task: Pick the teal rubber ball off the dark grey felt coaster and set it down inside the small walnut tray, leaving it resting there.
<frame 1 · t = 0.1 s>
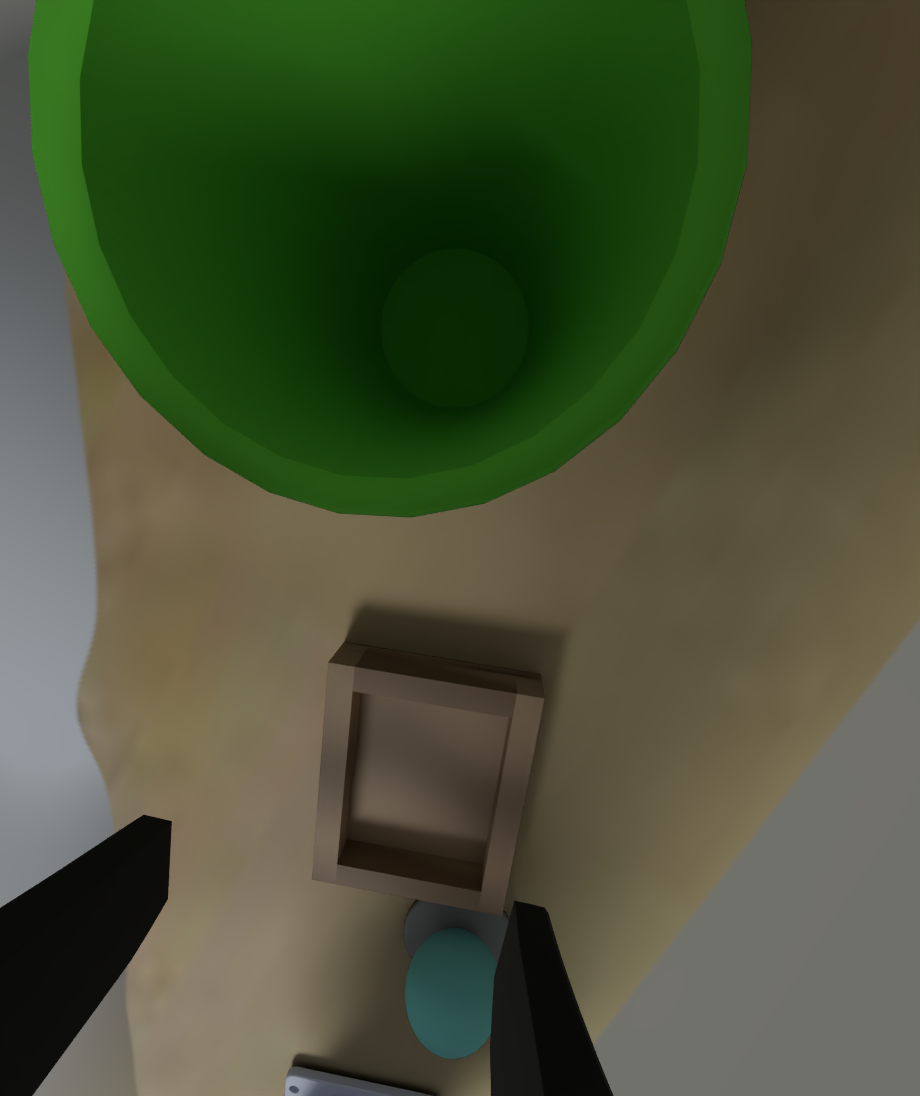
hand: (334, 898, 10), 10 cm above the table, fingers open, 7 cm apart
ball: (457, 940, 22), resting on coaster
tray: (426, 765, 20), on the table
cup: (456, 336, 17), on the table
coaster: (458, 931, 22), on the table
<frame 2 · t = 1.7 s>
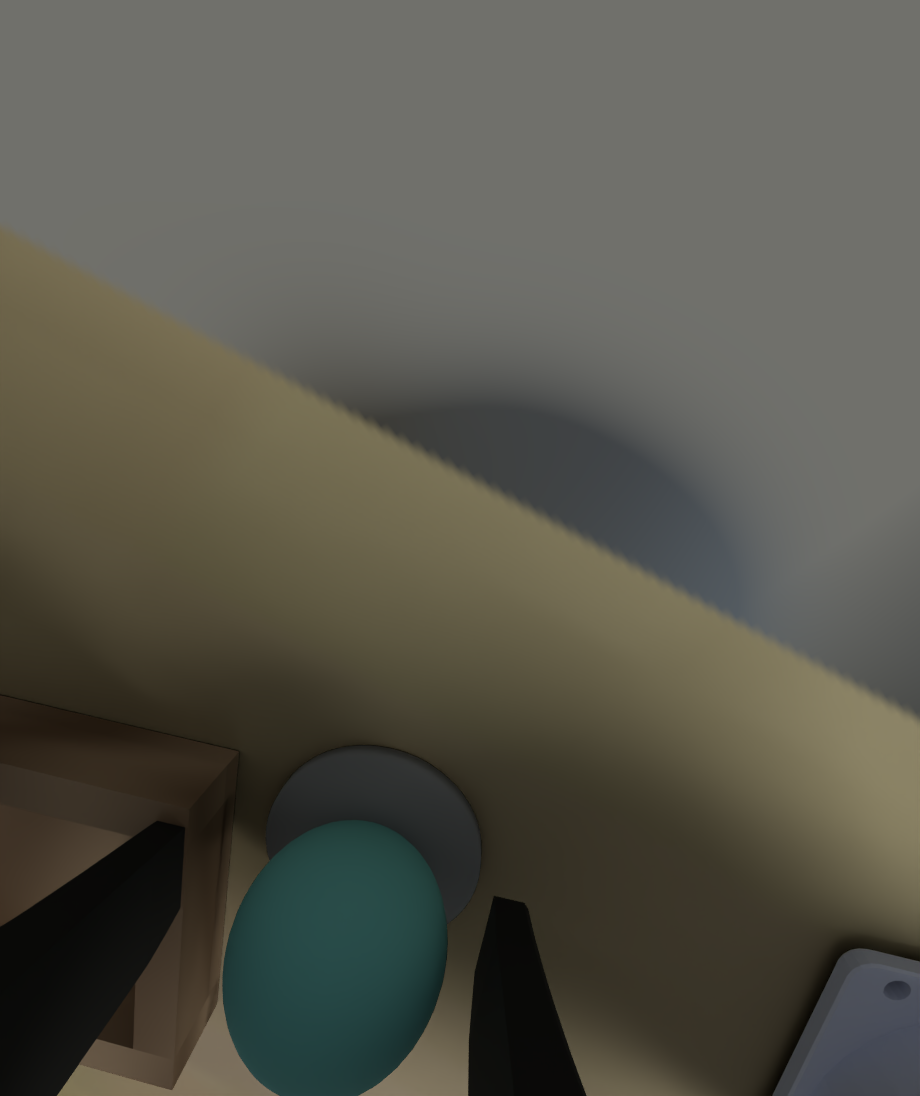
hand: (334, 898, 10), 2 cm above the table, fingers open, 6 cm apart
ball: (370, 853, 11), resting on coaster
tray: (43, 840, 12), on the table
coaster: (375, 839, 11), on the table
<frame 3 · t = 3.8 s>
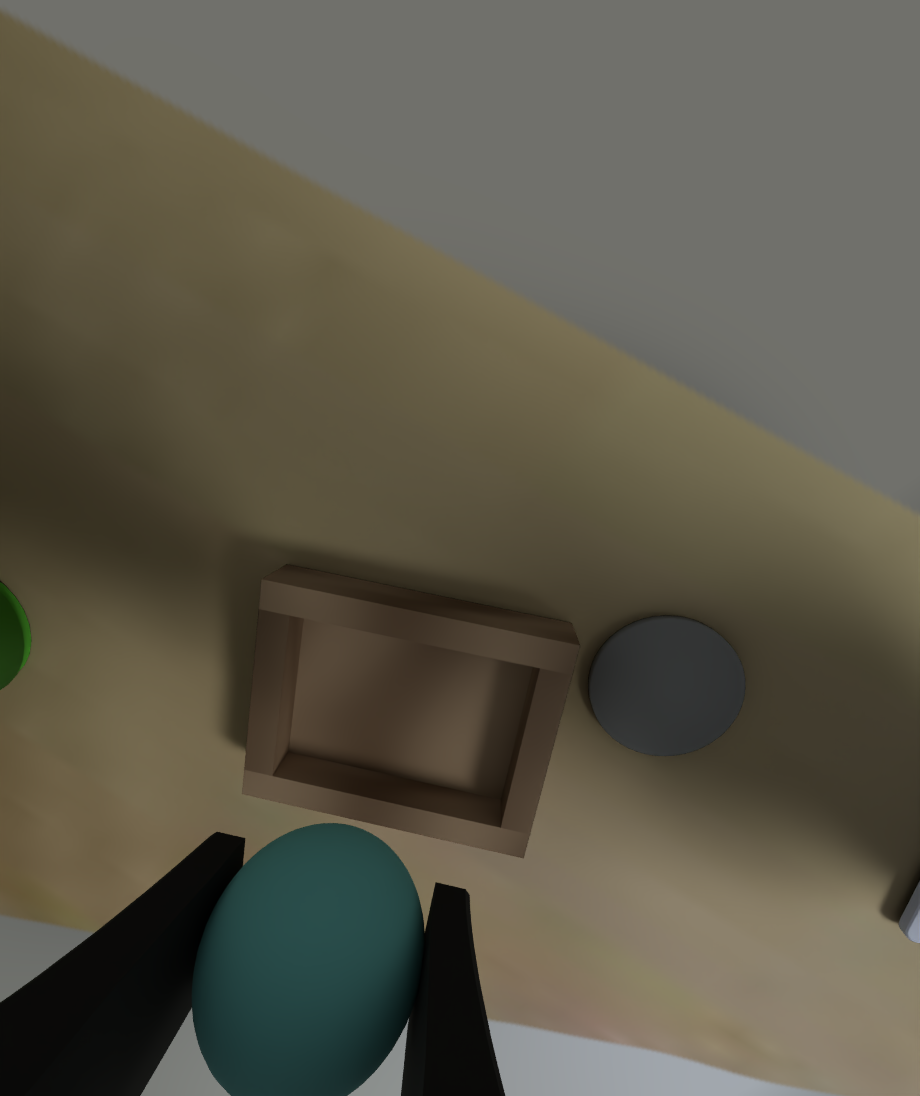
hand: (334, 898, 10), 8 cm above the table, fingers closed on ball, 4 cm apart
ball: (355, 857, 11), point 7 cm above the table, touching gripper
tray: (409, 696, 17), on the table
coaster: (662, 684, 17), on the table
when the fingers open (3 cm above the table, at t = 5.0 s): ball drops 1 cm, resting on tray.
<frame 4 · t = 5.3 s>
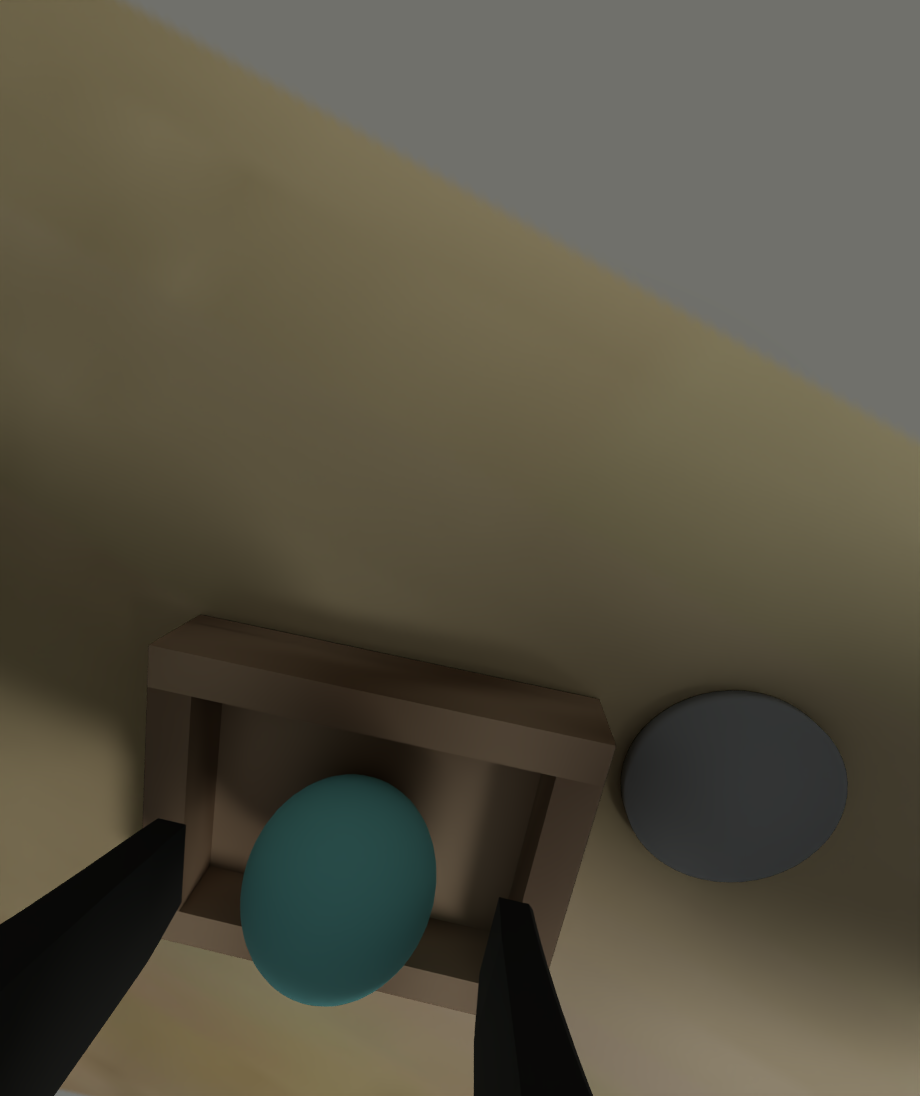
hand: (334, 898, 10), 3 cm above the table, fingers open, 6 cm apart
ball: (373, 807, 12), point 1 cm above the table, touching tray
tray: (373, 792, 13), on the table
coaster: (725, 783, 12), on the table
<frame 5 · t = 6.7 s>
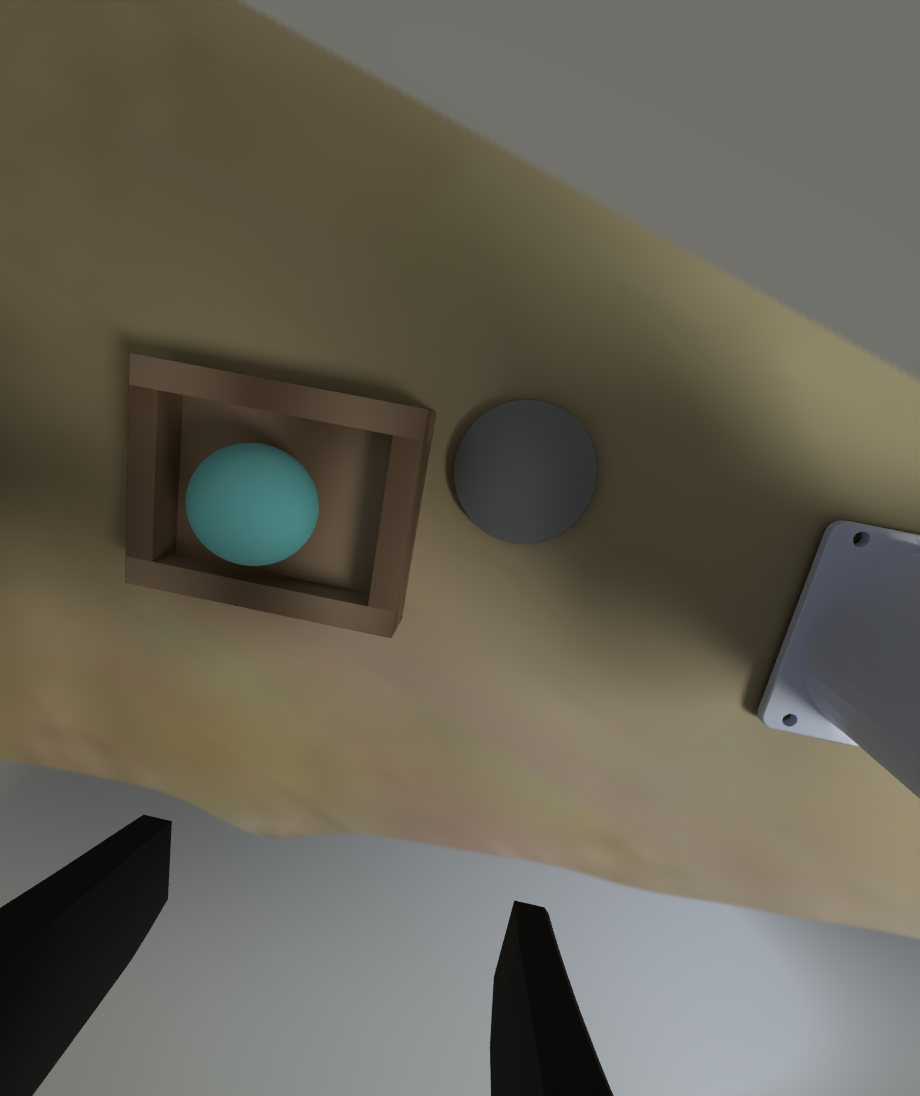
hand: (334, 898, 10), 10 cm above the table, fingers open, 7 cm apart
ball: (286, 497, 18), point 1 cm above the table, touching tray
tray: (288, 495, 18), on the table
coaster: (524, 472, 17), on the table
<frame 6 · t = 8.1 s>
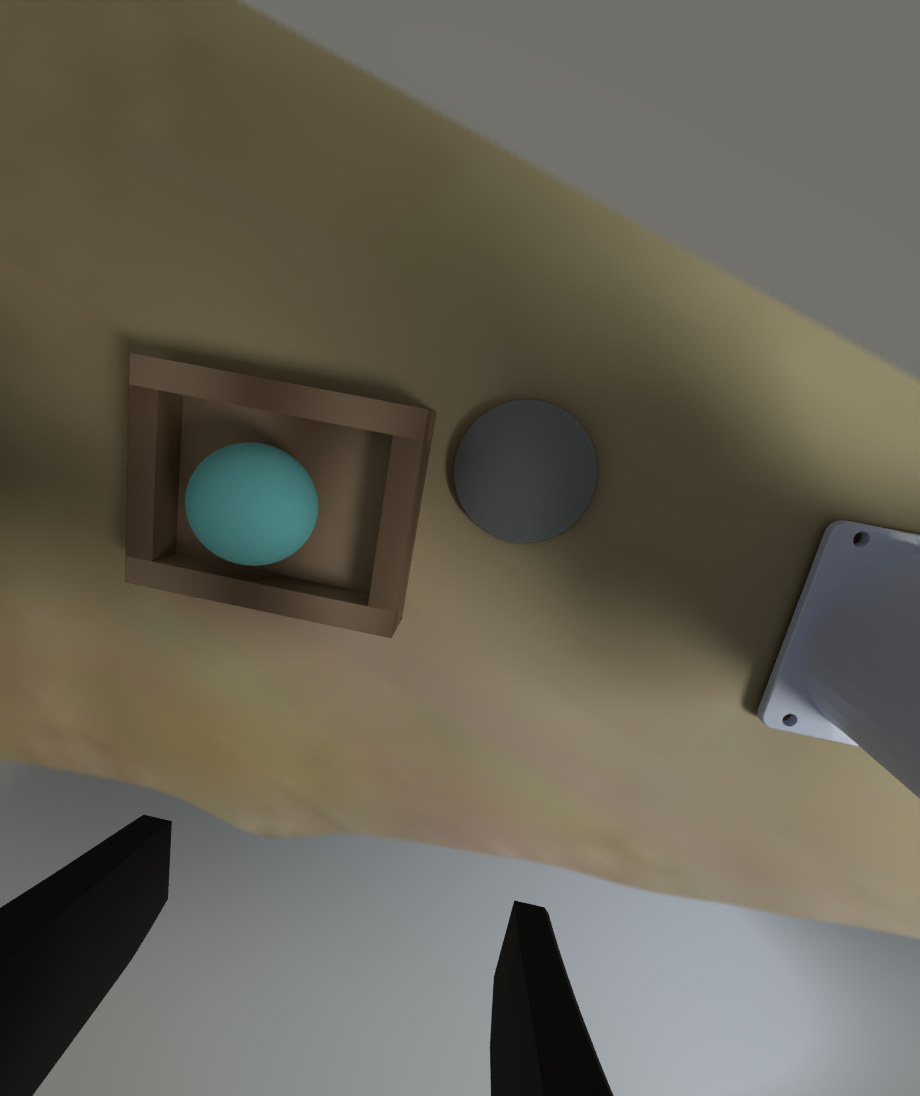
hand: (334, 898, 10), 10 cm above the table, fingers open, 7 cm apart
ball: (286, 497, 18), point 1 cm above the table, tilted 5°, touching tray
tray: (288, 495, 18), on the table
coaster: (524, 472, 17), on the table
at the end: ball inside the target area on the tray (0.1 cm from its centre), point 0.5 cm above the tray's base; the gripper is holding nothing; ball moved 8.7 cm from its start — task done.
